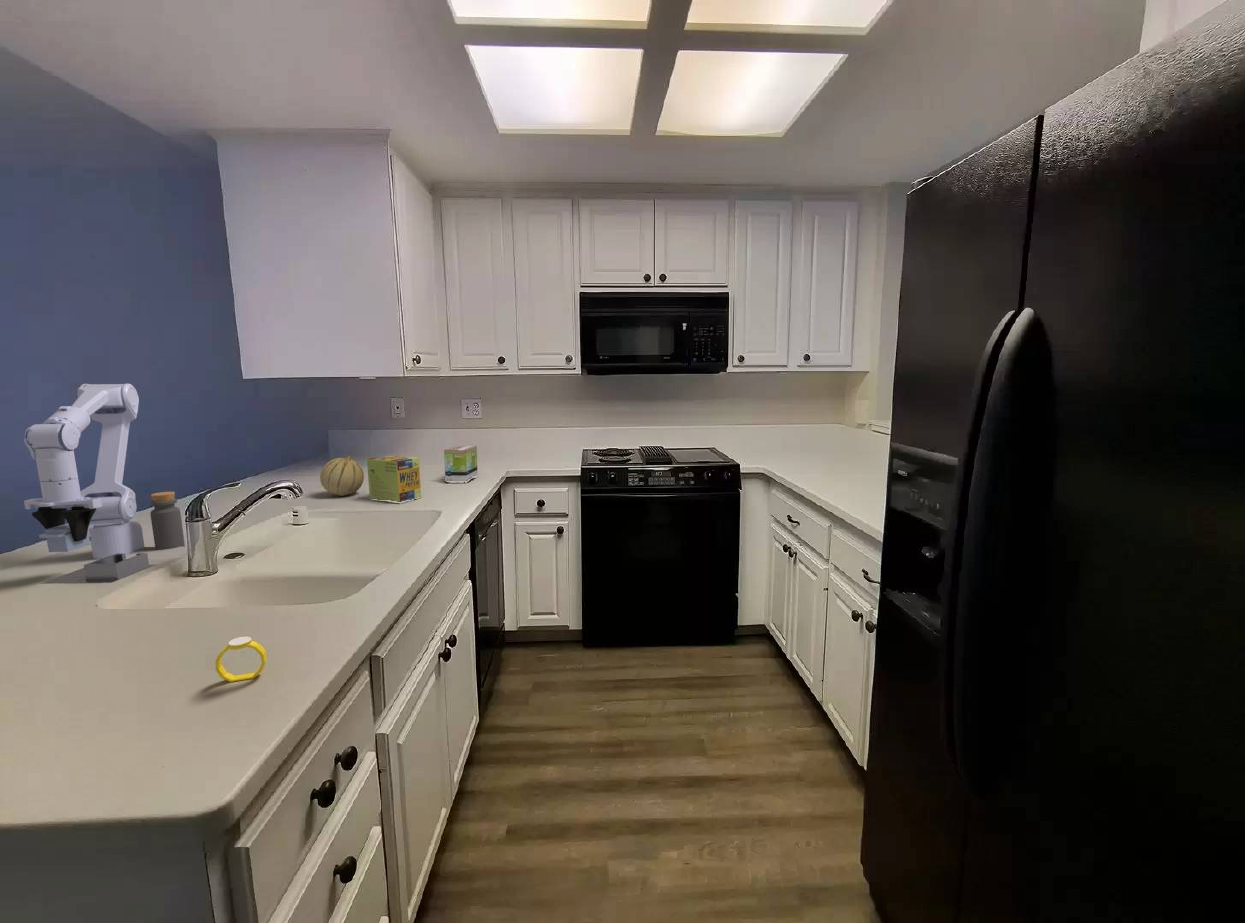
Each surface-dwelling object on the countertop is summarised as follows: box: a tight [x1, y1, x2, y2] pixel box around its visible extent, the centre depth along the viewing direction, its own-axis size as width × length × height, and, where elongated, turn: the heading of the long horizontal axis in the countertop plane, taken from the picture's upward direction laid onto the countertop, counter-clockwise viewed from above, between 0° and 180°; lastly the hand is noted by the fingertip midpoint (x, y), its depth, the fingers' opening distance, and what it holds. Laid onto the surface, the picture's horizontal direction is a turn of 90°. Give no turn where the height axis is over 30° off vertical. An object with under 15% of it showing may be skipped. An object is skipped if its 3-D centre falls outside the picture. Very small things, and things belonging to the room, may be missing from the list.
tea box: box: [443, 445, 479, 482], centre depth 231 cm, size 15×10×15 cm
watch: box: [215, 636, 268, 683], centre depth 77 cm, size 6×3×6 cm, turn 110°
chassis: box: [39, 552, 155, 585], centre depth 118 cm, size 11×15×4 cm
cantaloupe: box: [319, 455, 365, 496], centre depth 202 cm, size 15×15×15 cm
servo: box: [38, 523, 93, 553], centre depth 116 cm, size 8×4×5 cm, turn 1°
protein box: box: [366, 455, 422, 502], centre depth 195 cm, size 10×15×16 cm
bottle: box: [150, 491, 186, 551], centre depth 137 cm, size 6×6×15 cm
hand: (69, 540), depth 116 cm, fingers closed on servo, 4 cm apart
